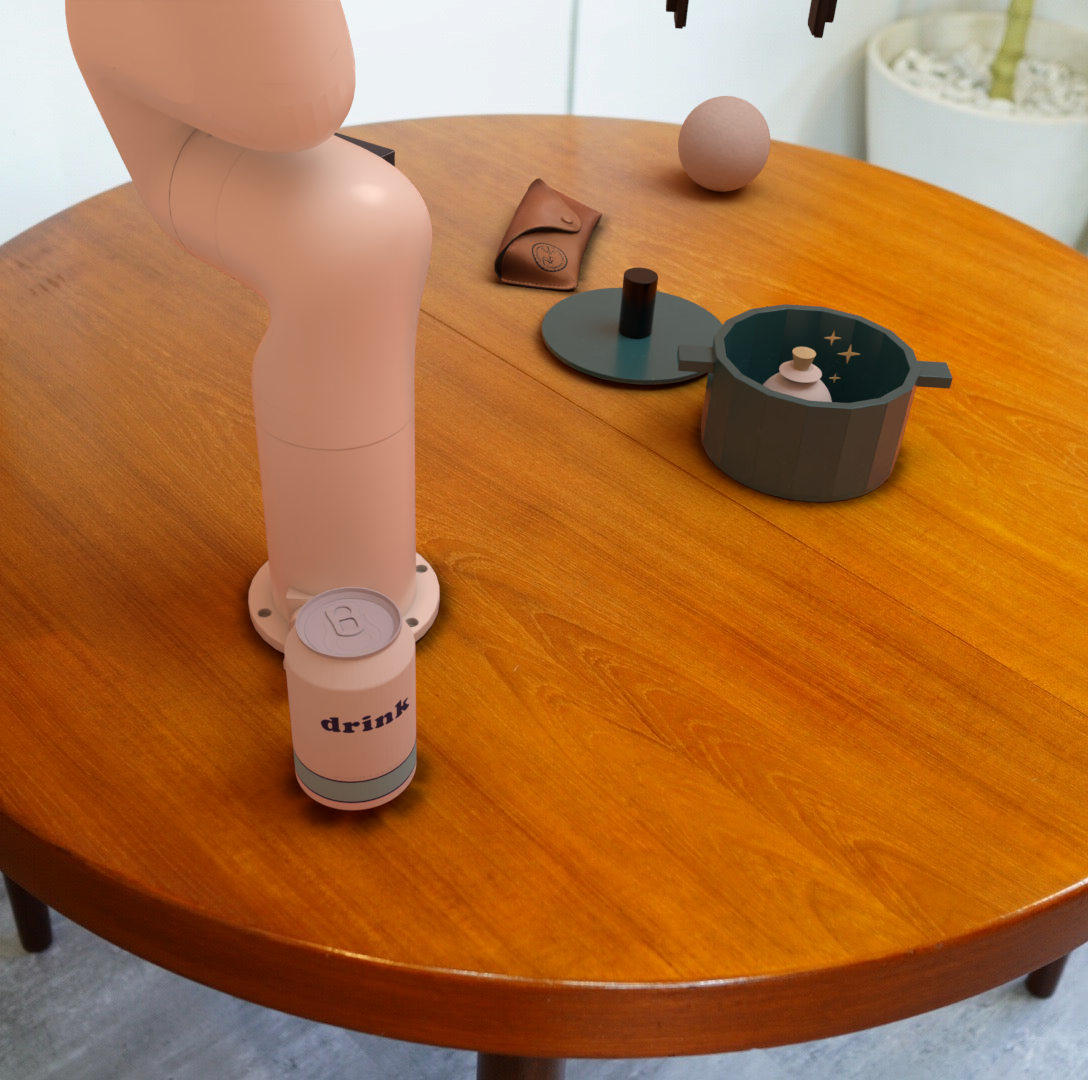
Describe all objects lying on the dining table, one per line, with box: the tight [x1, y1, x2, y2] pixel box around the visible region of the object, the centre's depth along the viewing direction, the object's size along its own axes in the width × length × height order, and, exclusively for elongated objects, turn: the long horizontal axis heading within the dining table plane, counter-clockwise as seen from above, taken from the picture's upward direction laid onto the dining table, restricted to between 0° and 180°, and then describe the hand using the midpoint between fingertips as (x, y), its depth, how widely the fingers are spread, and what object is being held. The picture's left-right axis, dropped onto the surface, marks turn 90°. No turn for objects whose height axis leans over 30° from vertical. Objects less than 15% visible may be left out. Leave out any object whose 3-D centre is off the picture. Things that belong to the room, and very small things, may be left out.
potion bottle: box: [763, 332, 859, 402], centre depth 103 cm, size 6×7×10 cm
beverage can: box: [283, 587, 417, 811], centre depth 73 cm, size 7×7×12 cm
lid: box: [541, 267, 723, 386], centre depth 116 cm, size 17×17×7 cm
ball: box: [677, 95, 771, 193], centre depth 144 cm, size 10×10×10 cm
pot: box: [677, 303, 954, 503], centre depth 104 cm, size 16×21×8 cm
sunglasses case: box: [493, 177, 603, 291], centre depth 131 cm, size 18×7×7 cm
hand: (746, 27), depth 93 cm, fingers open, 9 cm apart
